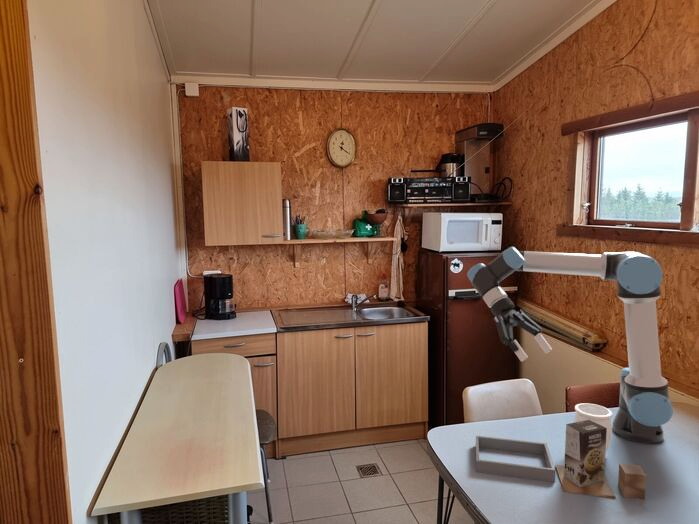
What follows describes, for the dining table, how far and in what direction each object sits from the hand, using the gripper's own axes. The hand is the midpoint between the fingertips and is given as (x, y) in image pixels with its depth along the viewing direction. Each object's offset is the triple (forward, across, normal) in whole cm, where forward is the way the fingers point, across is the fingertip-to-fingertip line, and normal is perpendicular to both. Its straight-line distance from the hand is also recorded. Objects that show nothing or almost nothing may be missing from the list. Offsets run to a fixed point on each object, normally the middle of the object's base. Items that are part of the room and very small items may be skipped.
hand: (537, 355), depth 147 cm
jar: (+32, -11, -14) cm, 36 cm away
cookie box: (+36, +5, -9) cm, 37 cm away
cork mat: (+36, +5, -9) cm, 37 cm away
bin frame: (+23, +13, -22) cm, 34 cm away
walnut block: (+43, 0, -2) cm, 43 cm away
